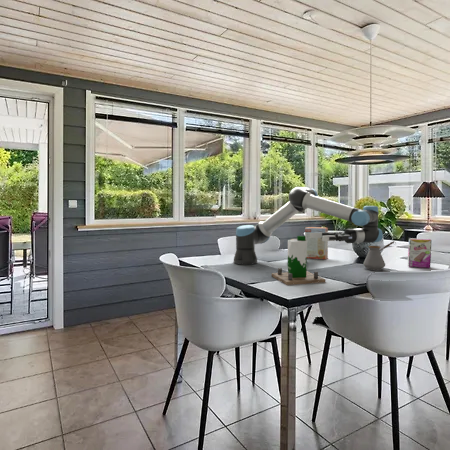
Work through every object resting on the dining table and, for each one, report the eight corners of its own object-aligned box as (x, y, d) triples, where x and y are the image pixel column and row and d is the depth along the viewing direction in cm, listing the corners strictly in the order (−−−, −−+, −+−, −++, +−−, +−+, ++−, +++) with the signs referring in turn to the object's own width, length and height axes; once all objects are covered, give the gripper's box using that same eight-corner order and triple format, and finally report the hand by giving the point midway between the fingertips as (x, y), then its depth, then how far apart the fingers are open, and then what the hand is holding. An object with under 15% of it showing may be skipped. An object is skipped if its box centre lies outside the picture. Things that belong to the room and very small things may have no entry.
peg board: (271, 276, 185) (271, 267, 185) (306, 273, 190) (307, 265, 189) (286, 285, 166) (286, 275, 165) (325, 282, 170) (325, 273, 170)
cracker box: (328, 258, 237) (328, 227, 236) (325, 259, 232) (325, 228, 231) (307, 257, 245) (307, 226, 243) (304, 258, 240) (304, 227, 238)
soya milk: (308, 277, 173) (308, 237, 172) (290, 278, 173) (290, 237, 171) (303, 274, 182) (303, 235, 181) (285, 274, 181) (285, 235, 180)
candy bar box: (408, 267, 204) (409, 239, 203) (407, 265, 209) (408, 238, 208) (431, 268, 201) (431, 239, 200) (429, 266, 206) (429, 238, 204)
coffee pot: (374, 271, 193) (374, 244, 192) (358, 268, 204) (359, 242, 203) (402, 268, 202) (403, 242, 201) (386, 265, 212) (387, 240, 211)
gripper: (367, 246, 175) (328, 247, 170) (340, 240, 199) (305, 241, 194) (368, 231, 174) (328, 232, 170) (341, 226, 198) (305, 227, 194)
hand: (316, 236), depth 182 cm, fingers open, 13 cm apart
